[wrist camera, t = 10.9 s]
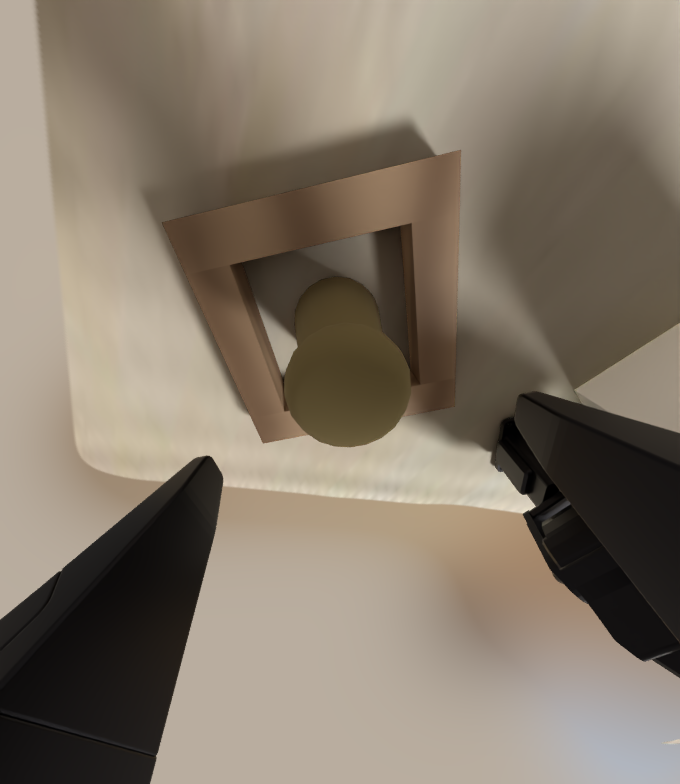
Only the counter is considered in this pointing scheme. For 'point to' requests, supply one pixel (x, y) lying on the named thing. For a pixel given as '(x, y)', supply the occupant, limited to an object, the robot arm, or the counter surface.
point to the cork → (344, 367)
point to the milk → (641, 384)
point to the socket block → (317, 226)
